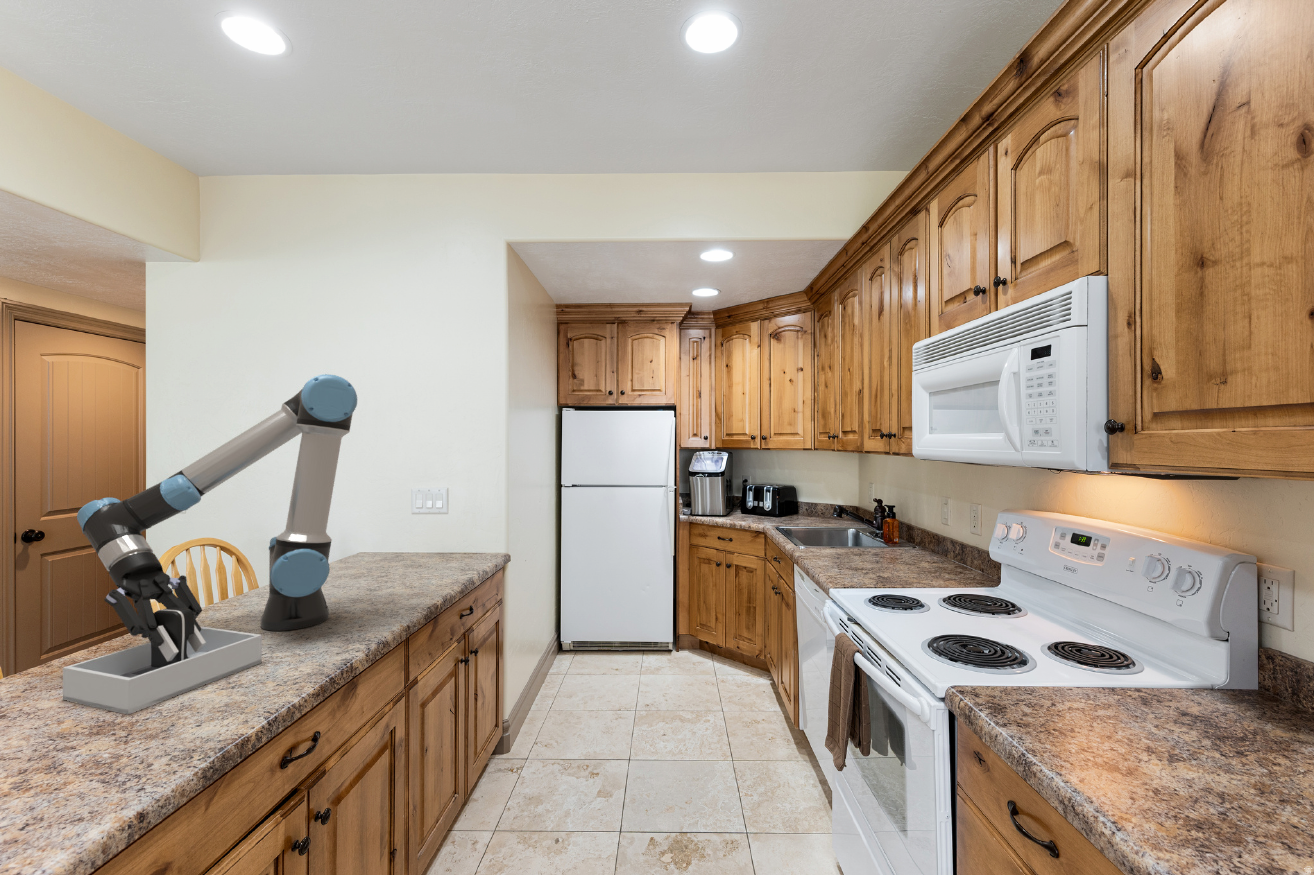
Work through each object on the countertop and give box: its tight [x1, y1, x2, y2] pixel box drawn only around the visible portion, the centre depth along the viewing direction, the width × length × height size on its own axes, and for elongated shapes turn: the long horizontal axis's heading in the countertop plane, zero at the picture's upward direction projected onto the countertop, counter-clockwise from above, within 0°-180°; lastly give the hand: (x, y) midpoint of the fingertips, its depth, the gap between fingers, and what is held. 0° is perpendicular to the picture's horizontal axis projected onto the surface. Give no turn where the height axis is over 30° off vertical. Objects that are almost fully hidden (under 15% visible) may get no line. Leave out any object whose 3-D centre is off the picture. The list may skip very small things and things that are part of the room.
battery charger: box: [151, 607, 195, 668], centre depth 112 cm, size 7×4×11 cm, turn 80°
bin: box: [62, 626, 263, 715], centre depth 112 cm, size 24×18×6 cm
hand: (187, 651), depth 111 cm, fingers closed on battery charger, 4 cm apart
